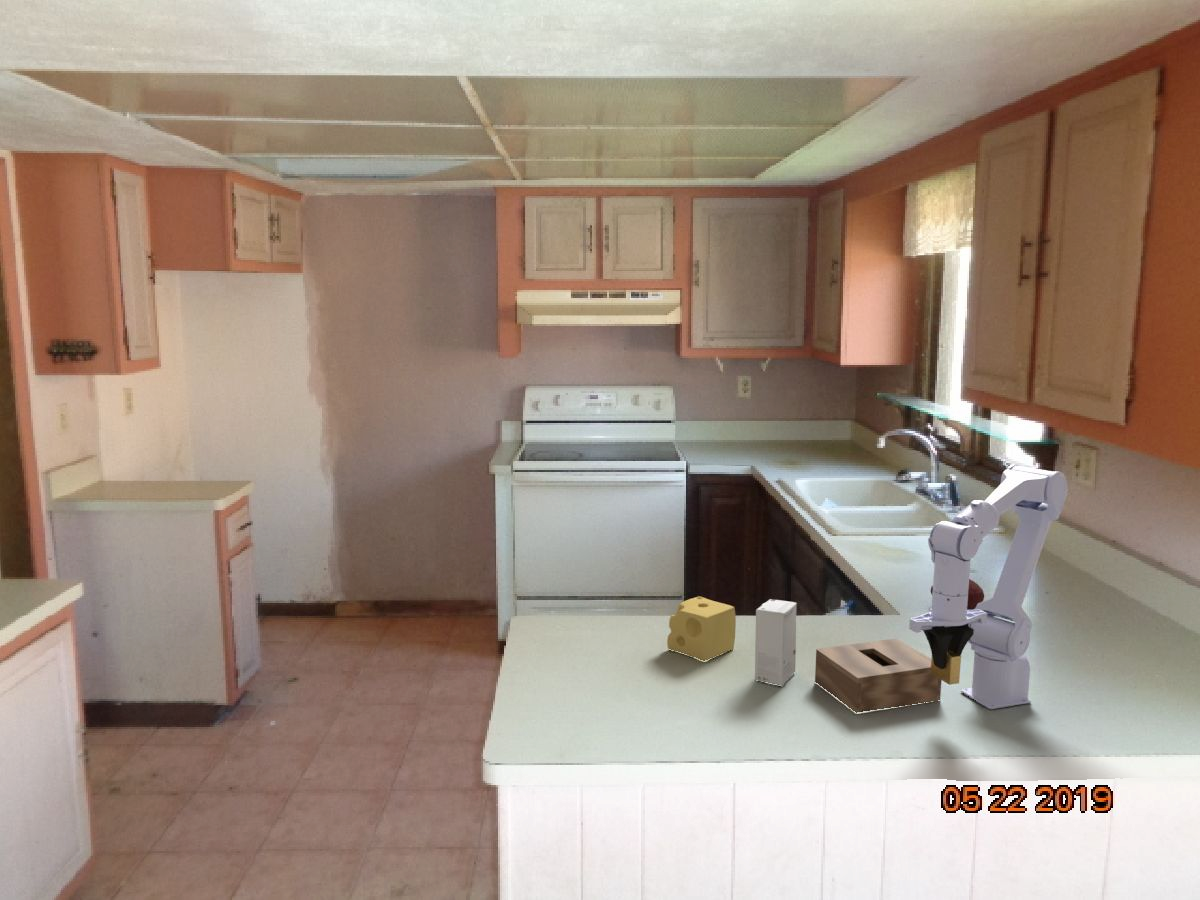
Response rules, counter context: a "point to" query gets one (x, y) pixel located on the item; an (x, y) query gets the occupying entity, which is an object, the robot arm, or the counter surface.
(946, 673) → the block
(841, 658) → the coin box
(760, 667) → the skincare box
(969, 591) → the american football
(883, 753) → the counter surface
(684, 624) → the cheese
